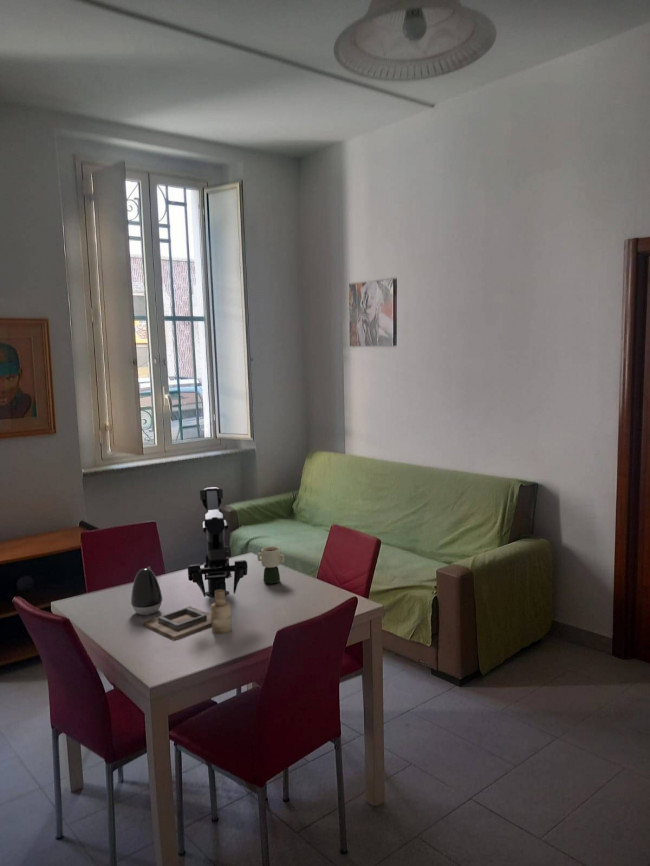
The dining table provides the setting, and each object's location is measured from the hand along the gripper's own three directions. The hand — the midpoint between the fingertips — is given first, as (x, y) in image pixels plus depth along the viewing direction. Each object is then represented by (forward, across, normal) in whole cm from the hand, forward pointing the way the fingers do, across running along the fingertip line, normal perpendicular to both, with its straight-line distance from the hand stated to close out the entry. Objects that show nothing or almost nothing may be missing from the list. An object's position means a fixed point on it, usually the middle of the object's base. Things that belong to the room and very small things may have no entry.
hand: (219, 594), depth 206 cm
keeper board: (+2, -12, +13) cm, 18 cm away
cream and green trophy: (-20, +21, +35) cm, 46 cm away
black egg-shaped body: (-7, -24, +23) cm, 34 cm away
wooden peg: (+9, 0, +7) cm, 11 cm away
